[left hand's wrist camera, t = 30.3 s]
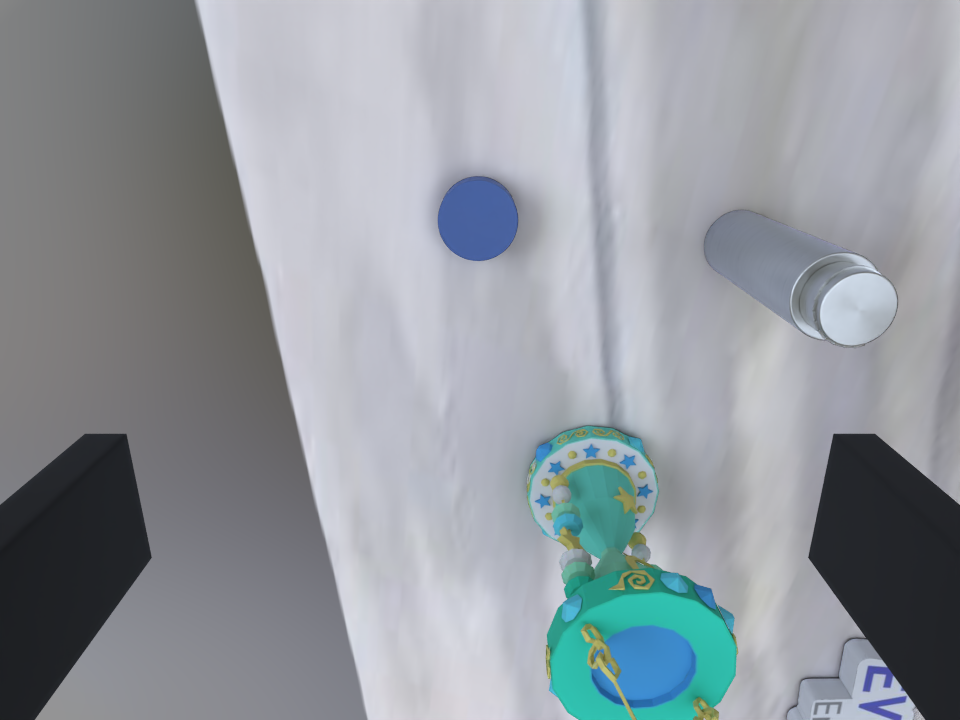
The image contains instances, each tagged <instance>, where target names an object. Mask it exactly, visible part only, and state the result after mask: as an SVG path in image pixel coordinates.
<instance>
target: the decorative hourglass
mask: <svg viewBox="0 0 960 720" xmlns="http://www.w3.org/2000/svg"><path fill="white" fill-rule="evenodd" d="M657 483H658V480H657V476H656V473H655V471H654V466H653V463H652V461H651V460H650V458H649V457H648V456H647V455H646V453H645V452H644V448H643V445H642V441H641V439H639V438H634V437H629V436H627V435H625V434H623V433H621V432H619V431H617V430H615V429H613V428H604V427H594V426H585V427H581V428H578V429H574V430H570V431H566V432H563V433H561V434H560V435H558V436H557V437H555V438H554V439H553V440H551V441H550V442H548V443H545V444H542V445H540V446H539V447H538V449H537V450H536V458H535V459H534V461H533V462H532V464H531V465H530V470H529V474H528V477H527V493H528V495H527V500H528V504H529V507H530V508H531V513H532V516H533V518H534V520H535V522H536V523H537V524H538V525H539V526H540V527H541V528H542V532H543V534H544V535H546V536H548V537H550V538H552V539H554V540H556V541H558V542H560V543H562V544H563V545H564V546H566V547H567V549H568V551H567V552H565V553H563V555H562V557H561V559H560V561H559V562H560V566H561V569H562V570H563V573H562V578H563V582H564V584H566V586H565V588H564V591H565V595H566V598H568V599H567V600H566V601H564V602H563V604H562V605H561V606H560V607H559V608H558V610H557V612H556V614H555V617H554V619H553V622H552V624H551V626H550V629H549V631H548V634H547V641H548V645H546V667H547V676H548V679H550V672H551V681H550V687H549V691H550V692H552V693H553V694H554V695H555V696H557V697H558V698H559V700H560V701H561V703H562V704H563V706H564V707H565V709H566V710H567V712H568V713H569V714H571V715H572V716H574V717H575V718H577V719H578V720H703V718H705V719H706V720H718V717H719V712H718V711H717V710H715V709H714V708H713V707H715V706H716V705H717V704H718V703H720V702H721V700H722V698H723V696H724V695H725V693H726V691H727V689H728V688H729V686H730V684H731V682H732V681H733V679H734V677H735V675H736V656H737V654H738V648H737V642H736V637H735V635H734V634H733V625H734V616H733V614H731V613H730V612H728V611H727V610H725V609H723V608H722V607H720V606H719V605H718V607H719V609H720V611H721V613H722V615H723V616H722V615H721V613H720V611H719V609H718V607H717V605H716V603H715V600H714V597H713V593H712V590H711V589H710V588H707V587H703V586H700V585H697V584H696V583H694V582H693V581H692V580H690V579H689V578H688V577H686V576H682V575H679V574H678V573H671V572H667V571H663V570H662V569H661V568H659V567H658V566H657V565H650V564H648V563H646V562H647V561H648V560H649V559H650V554H651V552H650V549H649V548H648V547H647V546H646V538H645V536H644V535H642V534H641V533H639V531H640V530H641V529H642V528H643V526H644V525H645V524H646V522H647V521H648V520H649V518H650V517H651V516H652V514H653V513H654V510H655V505H656V501H657V497H658V493H659V489H658V484H657ZM627 544H628V545H629V547H630V548H632V556H628V555H626V554H625V553H623V551H624V550H625V548H626V546H627ZM586 551H587V552H588V553H587V552H586ZM589 553H590V554H592V555H594V556H595V557H597V558H599V559H600V561H599V563H598V564H597V566H596V567H595V569H593V567H591V564H592V560H591V556H590V554H589ZM622 553H623V554H624V555H623V554H622ZM625 555H626V556H625ZM638 562H640V563H642V564H644V565H642V564H640V563H638ZM723 617H724V618H723ZM726 624H727V625H726ZM727 626H728V627H727ZM728 628H729V629H728Z"/></svg>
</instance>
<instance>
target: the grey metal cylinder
mask: <svg viewBox="0 0 960 720" xmlns="http://www.w3.org/2000/svg"><path fill="white" fill-rule="evenodd" d="M704 252H705V257H706V259H707V261H708V263H709V264H710V266H711V267H712V268H713V269H714V270H715V271H717V272H718V273H720V274H721V275H722V276H724V277H725V278H727V279H728V280H729V281H731V282H732V283H734V284H735V285H736V286H738V287H739V288H741V289H742V290H744V291H745V292H746V293H748V294H749V295H751V296H752V297H753V298H755V299H756V300H758V301H759V302H760V303H762V304H763V305H765V306H766V307H767V308H769V309H770V310H772V311H773V312H774V313H776V314H777V315H779V316H780V317H781V318H783V319H784V320H786V321H787V322H788V323H790V324H791V325H793V326H794V327H795V328H797V329H798V330H800V331H801V332H802V333H804V334H805V335H807V336H809V337H811V338H814V339H818V340H827V341H829V342H830V343H832V344H833V345H837V346H841V347H843V348H850V347H853V348H857V347H861V346H864V345H865V344H866V343H869V342H871V341H873V340H875V339H876V338H878V337H879V336H880V335H882V334H883V333H884V332H885V331H886V330H887V329H888V327H889V326H890V325H891V323H892V322H893V320H894V318H895V315H896V312H897V308H898V296H897V292H896V290H895V287H894V286H893V284H892V283H891V282H890V281H889V280H888V279H887V278H886V277H884V276H883V275H881V273H879V272H878V270H877V268H876V267H875V265H874V264H873V263H872V262H871V261H870V260H868V259H867V258H865V257H864V256H862V255H859V254H857V253H854V252H852V251H849V250H847V249H844V248H842V247H839V246H837V245H834V244H832V243H829V242H827V241H824V240H822V239H819V238H817V237H814V236H812V235H809V234H807V233H804V232H802V231H799V230H797V229H794V228H792V227H789V226H787V225H784V224H782V223H779V222H777V221H774V220H772V219H769V218H767V217H764V216H762V215H759V214H757V213H754V212H752V211H748V210H736V211H732V212H729V213H727V214H725V215H723V216H721V217H720V218H719V219H717V220H716V221H715V222H714V223H713V225H712V226H711V227H710V229H709V231H708V233H707V235H706V238H705V242H704Z"/></svg>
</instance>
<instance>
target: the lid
mask: <svg viewBox="0 0 960 720" xmlns="http://www.w3.org/2000/svg"><path fill="white" fill-rule="evenodd" d="M438 227H439V232H440V235H441V237H442V239H443V241H444V243H445V244H446V245H447V247H448V248H449V249H450V250H451V251H452V252H454V253H455V254H457V255H458V256H460V257H462V258H465V259H468V260H473V261H483V260H488V259H491V258H494V257H496V256H498V255H499V254H501V253H502V252H504V251H505V250H506V249H507V248H508V246H509V245H510V244H511V242H512V241H513V239H514V237H515V234H516V231H517V227H518V214H517V210H516V207H515V204H514V201H513V199H512V197H511V195H510V193H509V192H508V191H507V189H506V188H505V187H504V186H503V185H501V184H500V183H499V182H497V181H495V180H493V179H490V178H487V177H480V176H476V177H469V178H466V179H463V180H461V181H459V182H457V183H456V184H455V185H453V186H452V187H451V188H450V189H449V191H448V192H447V193H446V195H445V197H444V199H443V201H442V203H441V206H440V209H439V214H438Z"/></svg>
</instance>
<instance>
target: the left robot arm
mask: <svg viewBox="0 0 960 720" xmlns="http://www.w3.org/2000/svg"><path fill="white" fill-rule="evenodd" d="M151 558H152V557H151V552H150V547H149V542H148V537H147V532H146V528H145V523H144V518H143V513H142V508H141V503H140V498H139V493H138V488H137V484H136V479H135V474H134V469H133V464H132V459H131V454H130V449H129V444H128V439H127V435H126V434H84V435H83V436H82V437H81V438H80V439H78V440H77V441H76V442H75V443H74V444H72V445H71V446H70V447H69V448H68V449H66V450H65V451H64V452H63V453H62V454H60V455H59V456H58V457H57V458H56V459H55V460H53V461H52V462H51V463H50V464H49V465H47V466H46V467H45V468H44V469H43V470H41V471H40V472H39V473H38V474H37V475H35V476H34V477H33V478H32V479H31V480H30V481H28V482H27V483H26V484H25V485H24V486H22V487H21V488H20V489H19V490H18V491H16V492H15V493H14V494H13V495H12V496H10V497H9V498H8V499H7V500H6V501H4V502H3V503H2V504H1V505H0V720H35V719H36V717H37V716H38V714H39V713H40V712H41V710H42V709H43V707H44V706H45V705H46V703H47V702H48V700H49V699H50V698H51V696H52V695H53V694H54V692H55V691H56V689H57V688H58V687H59V685H60V684H61V683H62V681H63V680H64V678H65V677H66V676H67V674H68V673H69V671H70V670H71V669H72V667H73V666H74V665H75V663H76V662H77V660H78V659H79V658H80V656H81V655H82V653H83V652H84V651H85V649H86V648H87V647H88V645H89V644H90V642H91V641H92V640H93V638H94V637H95V635H96V634H97V633H98V631H99V630H100V629H101V627H102V626H103V624H104V623H105V622H106V620H107V619H108V617H109V616H110V615H111V613H112V612H113V611H114V609H115V608H116V606H117V605H118V604H119V602H120V601H121V599H122V598H123V597H124V595H125V594H126V592H127V591H128V590H129V588H130V587H131V586H132V584H133V583H134V581H135V580H136V579H137V577H138V576H139V574H140V573H141V572H142V570H143V569H144V568H145V566H146V565H147V563H148V562H149V561H150V559H151ZM808 558H809V559H810V561H811V562H812V563H813V565H814V566H815V568H816V569H817V570H818V572H819V573H820V574H821V576H822V577H823V579H824V580H825V581H826V583H827V584H828V586H829V587H830V588H831V590H832V591H833V592H834V594H835V595H836V597H837V598H838V599H839V601H840V602H841V604H842V605H843V606H844V608H845V609H846V611H847V612H848V613H849V615H850V616H851V617H852V619H853V620H854V622H855V623H856V624H857V626H858V627H859V629H860V630H861V631H862V633H863V634H864V635H865V637H866V638H867V640H868V641H869V642H870V644H871V645H872V647H873V648H874V649H875V651H876V652H877V653H878V655H879V656H880V658H881V659H882V660H883V662H884V663H885V665H886V666H887V667H888V669H889V670H890V671H891V673H892V674H893V676H894V677H895V678H896V680H897V681H898V683H899V684H900V685H901V687H902V688H903V689H904V691H905V692H906V694H907V695H908V696H909V698H910V699H911V701H912V702H913V703H914V705H915V706H916V707H917V709H918V710H919V712H920V713H921V714H922V716H923V717H924V719H925V720H960V505H959V504H958V503H957V502H956V501H954V500H953V499H952V498H951V497H950V496H948V495H947V494H946V493H945V492H944V491H942V490H941V489H940V488H939V487H938V486H936V485H935V484H934V483H933V482H932V481H931V480H929V479H928V478H927V477H926V476H925V475H923V474H922V473H921V472H920V471H919V470H917V469H916V468H915V467H914V466H913V465H911V464H910V463H909V462H908V461H907V460H905V459H904V458H903V457H902V456H901V455H900V454H898V453H897V452H896V451H895V450H894V449H892V448H891V447H890V446H889V445H888V444H886V443H885V442H884V441H883V440H882V439H880V438H879V437H878V436H877V435H876V434H834V435H833V439H832V444H831V449H830V454H829V459H828V464H827V469H826V474H825V479H824V484H823V488H822V493H821V498H820V503H819V508H818V513H817V518H816V523H815V528H814V532H813V537H812V542H811V547H810V552H809V557H808Z"/></svg>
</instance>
